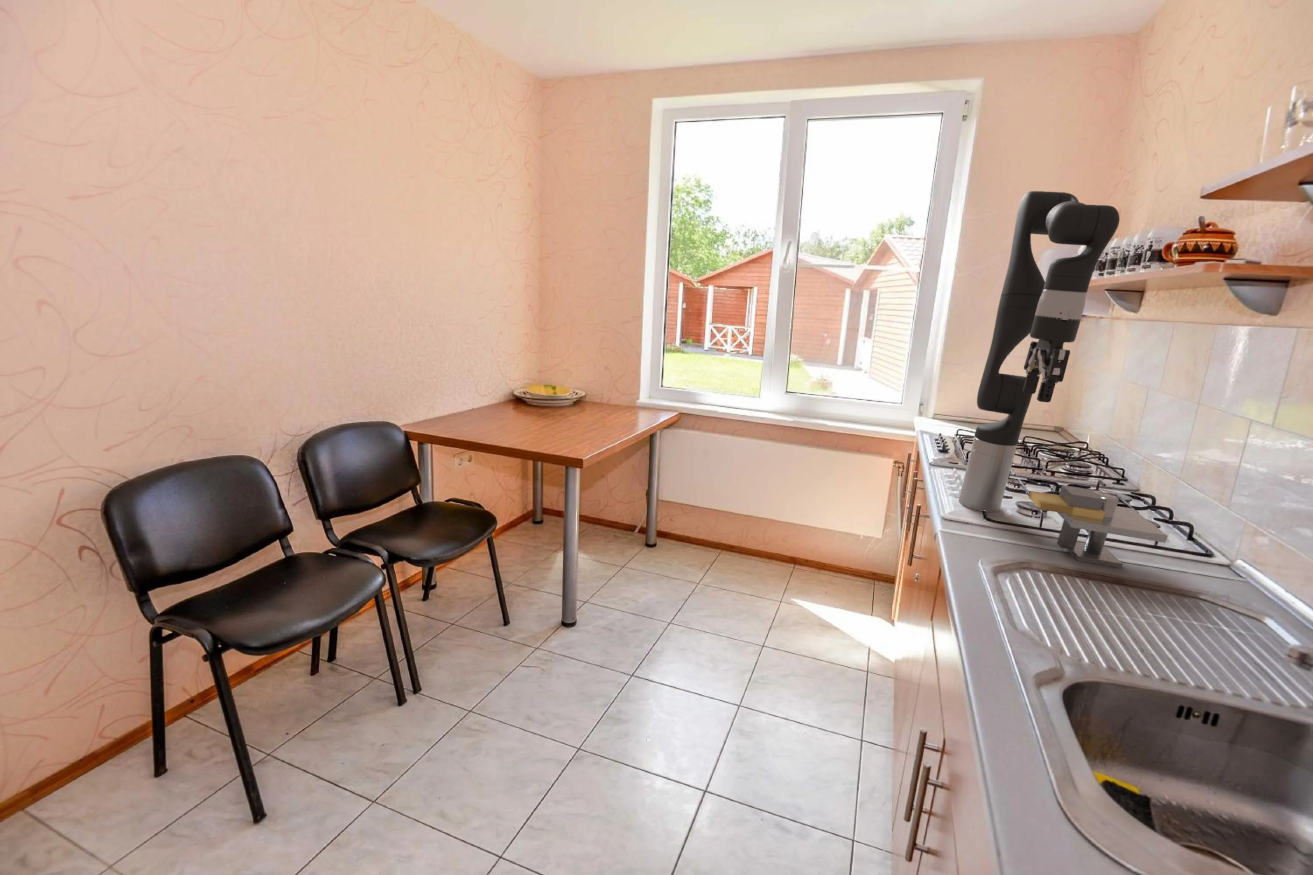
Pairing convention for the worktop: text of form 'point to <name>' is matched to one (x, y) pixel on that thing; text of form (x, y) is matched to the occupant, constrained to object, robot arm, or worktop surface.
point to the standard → (1110, 531)
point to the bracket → (1061, 505)
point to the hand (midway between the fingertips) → (1035, 397)
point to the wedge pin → (1076, 499)
